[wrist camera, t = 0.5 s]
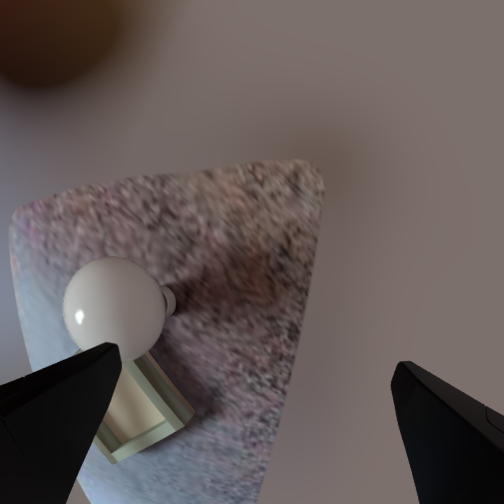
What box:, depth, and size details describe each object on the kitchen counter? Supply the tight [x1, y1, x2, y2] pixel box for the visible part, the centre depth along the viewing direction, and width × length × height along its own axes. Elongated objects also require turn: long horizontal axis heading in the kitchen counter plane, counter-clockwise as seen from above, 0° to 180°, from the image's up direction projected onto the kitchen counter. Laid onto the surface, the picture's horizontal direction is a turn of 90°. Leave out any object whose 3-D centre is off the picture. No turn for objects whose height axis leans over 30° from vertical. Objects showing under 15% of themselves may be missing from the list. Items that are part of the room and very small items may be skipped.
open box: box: [73, 349, 196, 465], centre depth 23 cm, size 10×10×3 cm
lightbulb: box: [63, 257, 176, 363], centre depth 19 cm, size 6×6×11 cm
